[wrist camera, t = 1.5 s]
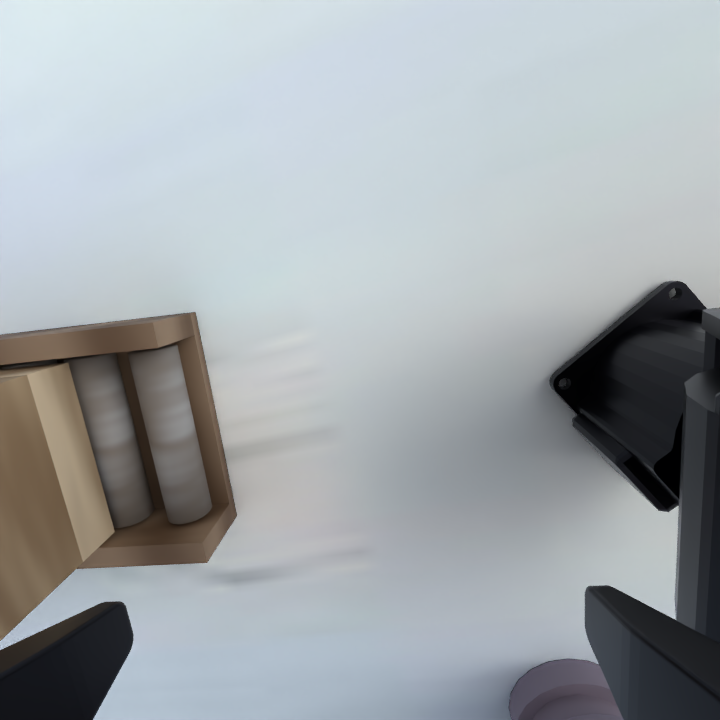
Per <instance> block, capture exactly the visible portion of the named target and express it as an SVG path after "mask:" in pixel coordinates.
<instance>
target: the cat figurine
mask: <svg viewBox="0 0 720 720" xmlns="http://www.w3.org/2000/svg"><path fill="white" fill-rule="evenodd" d="M509 711H510V715H511V719H512V720H623V718H622V715H621V713H620V711H619V709H618V706H617V704H616V702H615V700H614V697H613V695H612V693H611V691H610V688H609V686H608V684H607V681H606V679H605V677H604V675H603V672H602V670H601V668H600V665H598V664H595V663H592V662H590V661H585V660H575V659H563V660H557V661H550V662H547V663H544V664H542V665H540V666H538V667H535V668H533V669H531V670H530V671H529V672H527V673H526V674H525V675H524V676H523V677H522V678H520V679H519V680H518V682H517V684H516V685H515V687H514V689H513V690H512V692H511V695H510V702H509Z"/></svg>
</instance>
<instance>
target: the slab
mask: <svg viewBox="0 0 720 720" xmlns="http://www.w3.org/2000/svg"><path fill="white" fill-rule="evenodd" d="M114 532H115V531H114V527H113V523H112V520H111V516H110V512H109V509H108V505H107V502H106V498H105V494H104V491H103V487H102V483H101V480H100V476H99V473H98V469H97V465H96V462H95V458H94V454H93V451H92V447H91V444H90V440H89V436H88V433H87V429H86V426H85V422H84V418H83V415H82V411H81V407H80V404H79V400H78V397H77V393H76V389H75V386H74V382H73V378H72V375H71V371H70V368H69V364H68V363H59V364H50V365H40V366H31V367H21V368H12V369H3V370H0V641H1V640H2V639H3V638H4V637H5V636H6V635H7V634H8V633H9V632H10V631H11V630H12V629H13V628H14V627H16V626H17V625H18V624H19V623H20V622H21V621H22V620H23V619H24V618H25V617H26V616H27V615H28V614H29V613H30V612H31V611H32V610H33V609H34V608H35V607H37V606H38V605H39V604H40V603H41V602H42V601H43V600H44V599H45V598H46V597H47V596H48V595H49V594H50V593H51V592H52V591H53V590H54V589H55V588H56V587H58V586H59V585H60V584H61V583H62V582H63V581H64V580H65V579H66V578H67V577H68V576H69V575H70V574H71V573H72V572H73V571H74V570H75V569H76V568H77V567H79V566H80V565H81V564H82V563H83V562H84V561H85V560H86V559H87V558H88V557H89V556H90V555H91V554H92V553H93V552H94V551H95V550H96V549H97V548H98V547H100V546H101V545H102V544H103V543H104V542H105V541H106V540H107V539H108V538H109V537H110V536H111V535H112V534H113V533H114Z"/></svg>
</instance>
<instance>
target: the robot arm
mask: <svg viewBox="0 0 720 720" xmlns="http://www.w3.org/2000/svg"><path fill="white" fill-rule="evenodd" d="M673 288H674V289H675V291H676V294H675V296H674V297H673V298H671V299H670V298H669V292H670V290H671V289H673ZM563 378H567V384H566V385H565V386H563V387H559V382H560V380H561V379H563ZM550 386H551V388H552V389H553V390H554V391H555V392H556V393H557V394H558V396H559V397H560V398H561V399H562V400H563V401H564V402H565V403H566V404H567V405H568V406H569V407H570V408H571V409H572V410H573V411H574V413H575V414H576V415H577V416H575V417H574V418H573V422H572V425H573V427H574V428H575V429H576V430H577V431H578V432H579V433H580V434H581V435H582V436H583V437H584V438H585V439H586V440H587V441H588V442H589V443H590V445H591V446H592V447H593V448H594V449H595V450H596V451H597V452H598V453H599V454H600V455H601V456H602V457H603V458H604V459H605V460H606V461H607V462H608V463H609V464H610V465H611V466H612V467H613V468H614V469H615V470H616V471H617V472H618V473H619V474H620V475H621V476H622V477H624V478H625V479H626V480H627V481H628V482H629V483H630V484H631V485H632V486H633V487H634V488H635V489H636V490H637V491H638V492H639V493H641V494H642V495H643V496H644V497H645V498H646V499H647V500H648V501H649V502H650V503H651V504H652V505H653V506H654V507H655V508H656V509H658V510H659V511H665V512H669V511H671V510H672V509H674V508H675V507H677V506H679V518H678V541H677V563H676V586H675V607H676V620H674V619H672V618H671V617H669V616H667V615H665V614H663V613H661V612H659V611H657V610H655V609H653V608H651V607H650V606H648V605H646V604H644V603H642V602H640V601H638V600H636V599H634V598H632V597H630V596H628V595H627V594H625V593H623V592H621V591H619V590H617V589H615V588H613V587H611V586H607V585H605V586H588V587H587V588H586V591H585V629H586V633H587V637H588V640H589V642H590V645H591V647H592V649H593V652H594V654H595V656H596V659H597V661H598V663H599V665H600V668H601V670H602V672H603V675H604V677H605V679H606V681H607V684H608V686H609V688H610V691H611V693H612V695H613V697H614V700H615V702H616V704H617V706H618V709H619V711H620V713H621V715H622V718H623V720H720V308H712V309H707V308H706V307H705V306H704V305H703V304H702V303H701V301H700V300H699V299H698V298H697V297H696V296H695V295H694V293H693V292H692V291H691V290H690V289H689V288H688V286H687V285H686V284H684V283H683V282H679V281H667V282H665V283H663V284H661V285H660V286H659V287H658V288H657V289H655V290H654V291H653V292H652V293H651V294H649V295H648V296H647V297H646V298H644V299H643V300H642V301H641V302H640V303H638V304H637V305H636V306H635V307H634V308H632V309H631V310H630V311H629V312H628V313H626V314H625V315H624V316H623V317H621V318H620V319H619V320H618V321H617V322H615V323H614V324H613V325H612V326H611V327H609V328H608V329H607V330H606V331H605V332H603V333H602V334H601V335H600V336H598V337H597V338H596V339H595V340H594V341H592V342H591V343H590V344H589V345H588V346H586V347H585V348H584V349H583V350H582V351H580V352H579V353H578V354H577V355H575V356H574V357H573V358H572V359H571V360H569V361H568V362H567V363H566V364H565V365H563V366H562V367H561V368H560V369H559V370H557V371H556V372H555V373H554V374H553V375H552V376H551V378H550ZM132 644H133V631H132V627H131V623H130V620H129V616H128V612H127V609H126V606H125V605H124V603H122V602H104V603H100V604H98V605H96V606H94V607H92V608H90V609H87V610H85V611H83V612H81V613H79V614H77V615H75V616H73V617H70V618H68V619H66V620H64V621H62V622H60V623H58V624H55V625H53V626H51V627H49V628H47V629H45V630H43V631H41V632H38V633H36V634H34V635H32V636H30V637H28V638H26V639H23V640H21V641H19V642H17V643H15V644H13V645H11V646H9V647H6V648H4V649H2V650H0V720H93V718H94V717H95V715H96V713H97V711H98V709H99V707H100V706H101V704H102V702H103V700H104V698H105V696H106V695H107V693H108V691H109V689H110V687H111V685H112V684H113V682H114V680H115V678H116V676H117V674H118V673H119V671H120V669H121V667H122V665H123V663H124V662H125V660H126V658H127V656H128V654H129V652H130V650H131V647H132Z"/></svg>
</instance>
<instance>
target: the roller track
mask: <svg viewBox="0 0 720 720" xmlns="http://www.w3.org/2000/svg"><path fill="white" fill-rule="evenodd" d="M59 363H68V364H69V368H70V371H71V375H72V378H73V382H74V386H75V389H76V393H77V397H78V400H79V404H80V407H81V411H82V415H83V418H84V422H85V426H86V429H87V433H88V436H89V440H90V444H91V447H92V451H93V454H94V458H95V462H96V465H97V469H98V473H99V476H100V480H101V483H102V487H103V491H104V494H105V498H106V502H107V505H108V509H109V512H110V516H111V520H112V523H113V527H114V531H115V532H114V533H113V534H112V535H111V536H110V537H109V538H108V539H107V540H106V541H105V542H104V543H103V544H102V545H101V546H100V547H98V548H97V549H96V550H95V551H94V552H93V553H92V554H91V555H90V556H89V557H88V558H87V559H86V560H85V561H84V562H83V563H82V564H81V565H80V566H79V567H77V568H76V569H84V568H106V567H127V566H148V565H169V564H190V563H207V562H208V561H209V559H210V557H211V556H212V554H213V553H214V551H215V549H216V548H217V546H218V545H219V543H220V542H221V540H222V538H223V537H224V535H225V534H226V532H227V530H228V529H229V527H230V526H231V524H232V523H233V521H234V519H235V518H236V516H237V514H236V509H235V504H234V499H233V495H232V490H231V485H230V480H229V475H228V470H227V465H226V460H225V455H224V450H223V445H222V441H221V436H220V431H219V426H218V421H217V416H216V411H215V406H214V401H213V396H212V391H211V387H210V382H209V377H208V372H207V367H206V362H205V357H204V352H203V347H202V342H201V337H200V333H199V328H198V323H197V318H196V313H195V312H193V313H184V314H175V315H167V316H158V317H149V318H141V319H132V320H124V321H115V322H106V323H98V324H89V325H80V326H72V327H63V328H54V329H46V330H37V331H29V332H20V333H11V334H3V335H0V370H3V369H12V368H21V367H31V366H40V365H50V364H59Z"/></svg>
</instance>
